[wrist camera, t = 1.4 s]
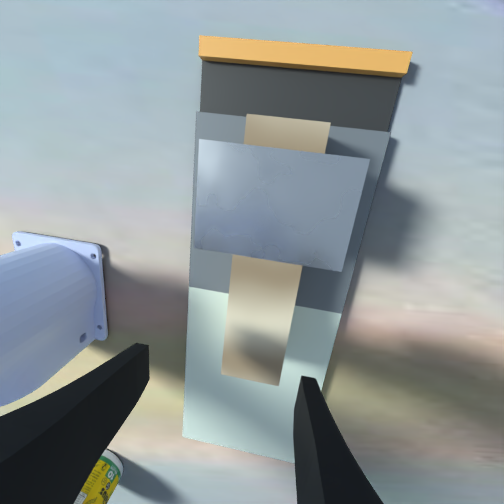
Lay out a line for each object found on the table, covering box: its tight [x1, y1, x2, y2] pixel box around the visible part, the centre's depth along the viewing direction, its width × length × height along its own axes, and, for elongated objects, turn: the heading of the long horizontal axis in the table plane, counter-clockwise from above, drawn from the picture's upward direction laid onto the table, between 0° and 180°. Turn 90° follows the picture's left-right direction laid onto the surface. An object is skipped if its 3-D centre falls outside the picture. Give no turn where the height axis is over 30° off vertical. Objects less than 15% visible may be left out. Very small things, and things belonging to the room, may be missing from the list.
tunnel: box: [194, 139, 370, 272], centre depth 14 cm, size 5×7×6 cm
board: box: [183, 35, 412, 463], centre depth 20 cm, size 34×12×1 cm, turn 173°
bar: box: [221, 114, 331, 386], centre depth 16 cm, size 16×4×4 cm, turn 173°
